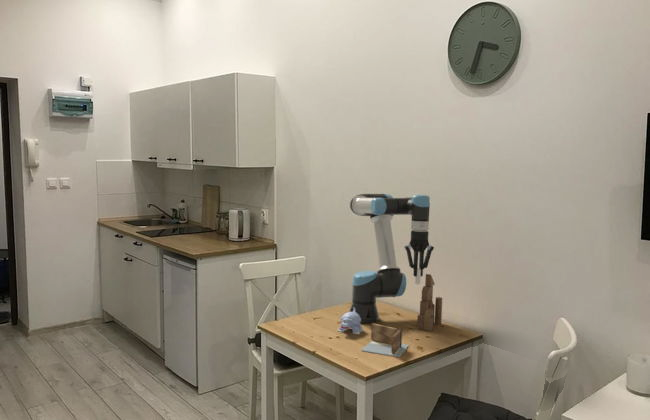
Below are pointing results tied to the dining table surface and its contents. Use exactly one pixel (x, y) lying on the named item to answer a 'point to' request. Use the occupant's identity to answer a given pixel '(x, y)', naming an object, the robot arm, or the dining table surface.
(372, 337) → the fence panel
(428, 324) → the wooden toy
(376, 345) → the card
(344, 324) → the hippopotamus toy
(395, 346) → the fence fixed
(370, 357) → the dining table surface
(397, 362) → the dining table surface
